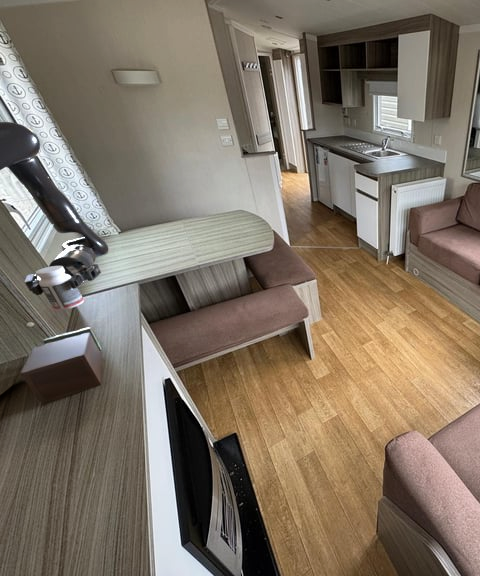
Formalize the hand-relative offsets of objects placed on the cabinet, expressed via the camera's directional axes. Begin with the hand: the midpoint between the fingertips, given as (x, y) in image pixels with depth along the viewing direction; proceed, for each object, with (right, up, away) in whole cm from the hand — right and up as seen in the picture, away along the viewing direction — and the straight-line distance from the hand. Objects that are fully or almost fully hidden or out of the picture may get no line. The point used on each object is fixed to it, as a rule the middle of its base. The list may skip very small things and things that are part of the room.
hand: (54, 288), depth 72 cm
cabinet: (+7, -22, -2) cm, 23 cm away
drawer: (+3, -19, +3) cm, 19 cm away
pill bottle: (-1, -5, +5) cm, 7 cm away
